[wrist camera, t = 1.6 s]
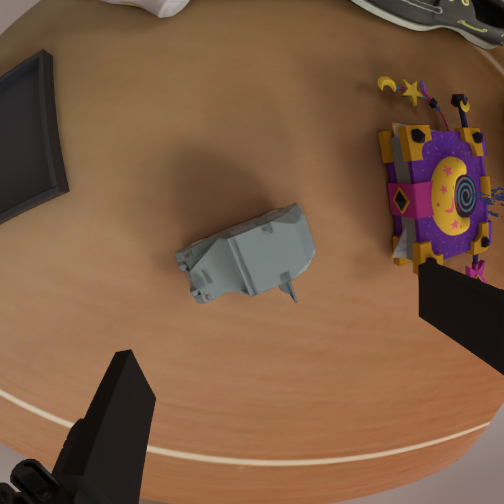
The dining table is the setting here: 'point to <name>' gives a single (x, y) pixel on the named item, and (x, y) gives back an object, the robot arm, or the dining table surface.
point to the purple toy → (437, 187)
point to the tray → (29, 138)
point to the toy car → (249, 256)
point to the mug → (154, 6)
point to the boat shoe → (446, 17)
